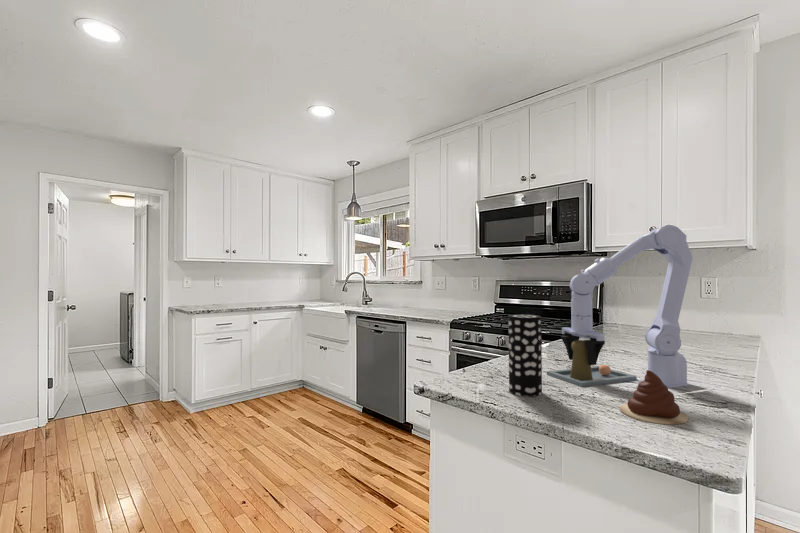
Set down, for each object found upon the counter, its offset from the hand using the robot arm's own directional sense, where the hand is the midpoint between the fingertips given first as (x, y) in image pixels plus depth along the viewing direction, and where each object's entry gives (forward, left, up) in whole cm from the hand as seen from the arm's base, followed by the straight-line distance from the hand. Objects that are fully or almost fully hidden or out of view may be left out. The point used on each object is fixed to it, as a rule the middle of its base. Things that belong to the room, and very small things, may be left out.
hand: (582, 361), depth 121 cm
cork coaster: (+7, +28, -5) cm, 29 cm away
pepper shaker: (+1, 0, -5) cm, 5 cm away
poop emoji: (+7, +28, -5) cm, 29 cm away
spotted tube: (+23, +4, -5) cm, 24 cm away
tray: (-3, 0, -5) cm, 6 cm away
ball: (-8, 0, -5) cm, 10 cm away
